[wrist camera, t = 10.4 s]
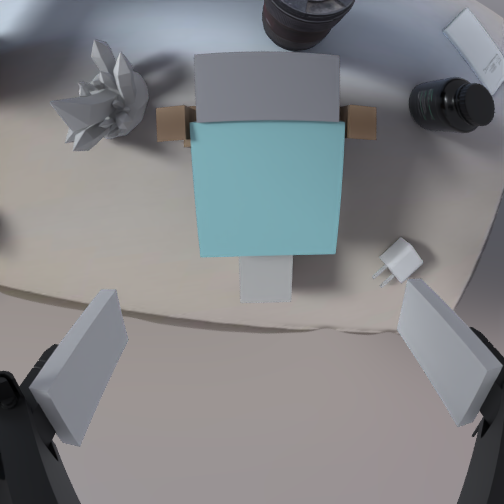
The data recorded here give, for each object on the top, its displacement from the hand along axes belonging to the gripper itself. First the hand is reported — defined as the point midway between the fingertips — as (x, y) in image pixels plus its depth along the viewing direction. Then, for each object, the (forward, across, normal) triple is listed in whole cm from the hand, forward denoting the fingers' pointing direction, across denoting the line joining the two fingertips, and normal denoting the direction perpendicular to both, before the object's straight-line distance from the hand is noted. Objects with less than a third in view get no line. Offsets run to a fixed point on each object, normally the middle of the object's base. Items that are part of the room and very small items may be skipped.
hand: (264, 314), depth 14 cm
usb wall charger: (+29, +20, -10) cm, 36 cm away
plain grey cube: (+22, +1, -9) cm, 23 cm away
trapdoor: (+21, +1, +6) cm, 22 cm away
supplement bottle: (+29, +24, +12) cm, 40 cm away
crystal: (+29, -18, +14) cm, 37 cm away
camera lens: (+29, +6, +22) cm, 36 cm away
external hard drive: (+29, +35, +24) cm, 52 cm away
